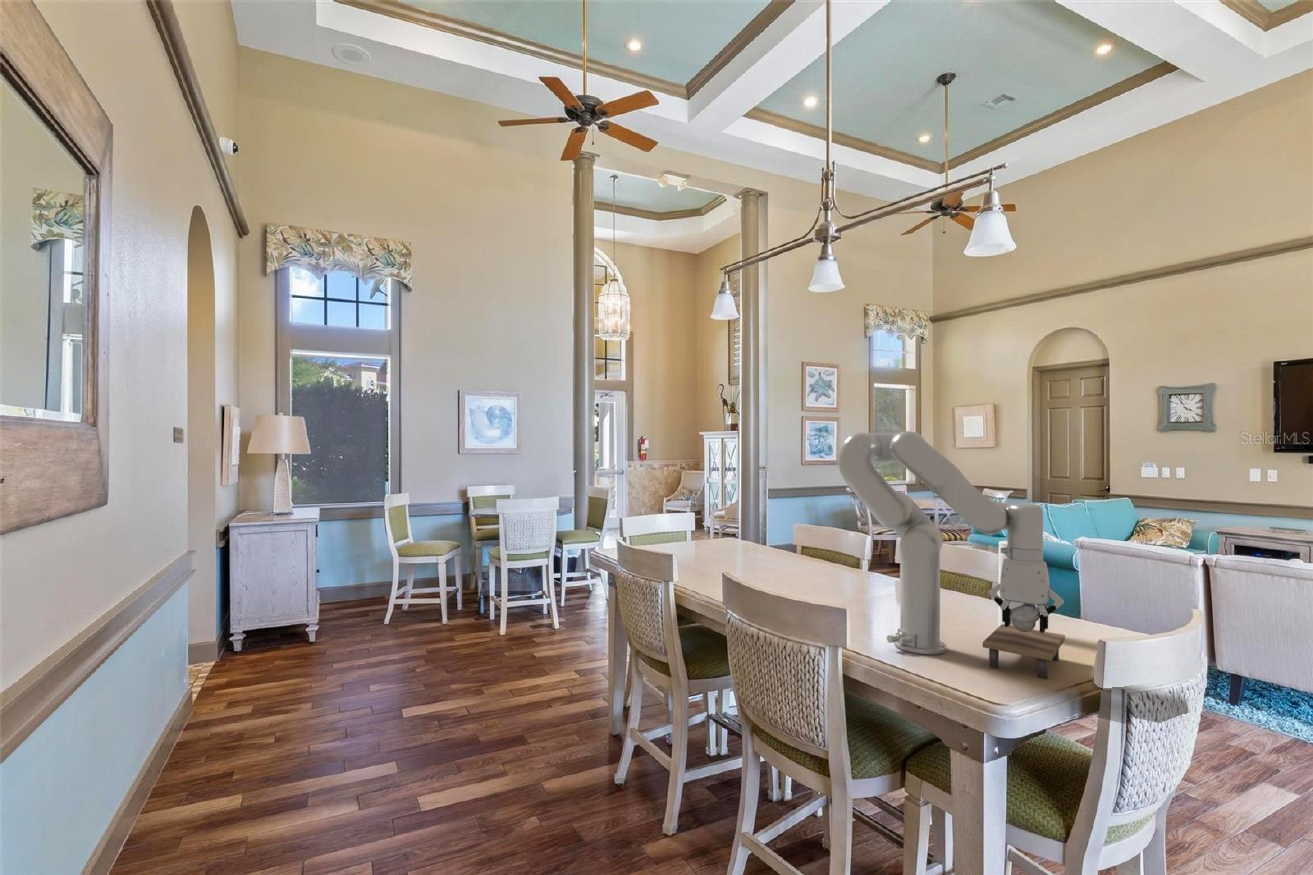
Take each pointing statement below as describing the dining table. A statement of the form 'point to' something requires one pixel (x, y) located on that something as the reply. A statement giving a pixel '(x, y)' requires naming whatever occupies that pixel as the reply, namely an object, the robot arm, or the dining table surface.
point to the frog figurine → (1025, 617)
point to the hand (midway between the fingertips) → (1024, 627)
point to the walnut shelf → (1024, 646)
